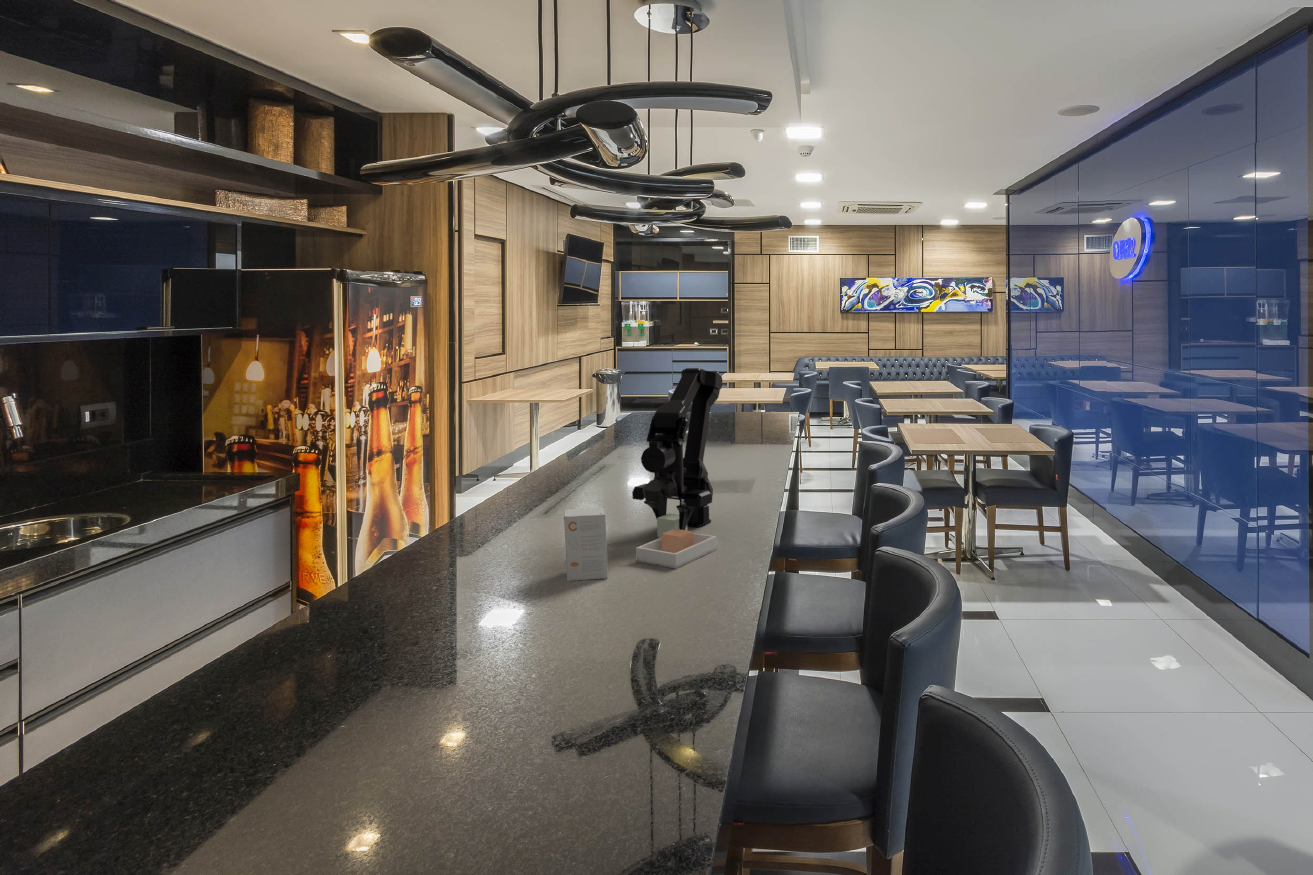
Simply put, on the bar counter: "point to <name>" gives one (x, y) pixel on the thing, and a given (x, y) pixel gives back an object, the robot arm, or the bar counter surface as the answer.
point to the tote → (656, 556)
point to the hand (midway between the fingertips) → (672, 531)
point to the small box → (585, 544)
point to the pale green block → (667, 523)
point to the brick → (676, 540)
